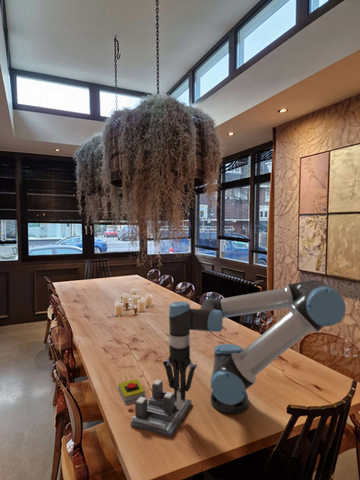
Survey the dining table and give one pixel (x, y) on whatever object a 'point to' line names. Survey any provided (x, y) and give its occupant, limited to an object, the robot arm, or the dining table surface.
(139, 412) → the block
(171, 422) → the panel
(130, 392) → the emergency button
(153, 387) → the breaker far
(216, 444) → the dining table surface
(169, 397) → the block
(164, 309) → the dining table surface
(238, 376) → the robot arm
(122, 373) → the dining table surface
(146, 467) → the dining table surface
